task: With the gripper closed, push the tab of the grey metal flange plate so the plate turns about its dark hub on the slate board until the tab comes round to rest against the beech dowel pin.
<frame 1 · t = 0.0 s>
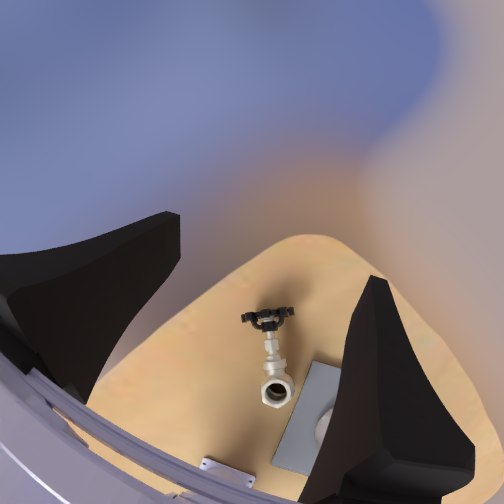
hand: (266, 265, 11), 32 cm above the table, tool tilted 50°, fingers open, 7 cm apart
board: (346, 429, 37), on the table
valve: (275, 356, 42), on the table
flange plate: (365, 440, 34), point 3 cm above the table, hinge at 0.0°
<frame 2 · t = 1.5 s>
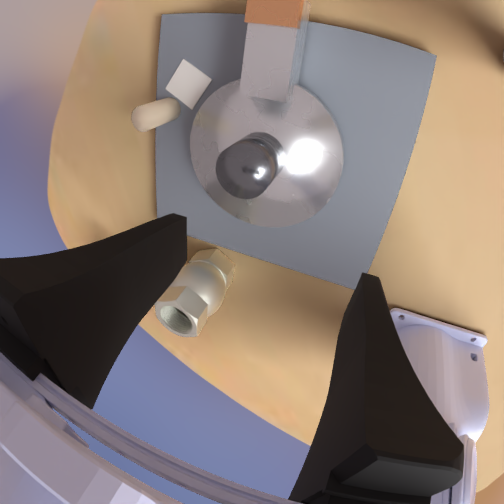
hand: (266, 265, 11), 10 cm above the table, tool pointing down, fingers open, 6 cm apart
board: (272, 145, 19), on the table
valve: (181, 267, 29), on the table
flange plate: (260, 120, 15), point 3 cm above the table, hinge at 0.0°
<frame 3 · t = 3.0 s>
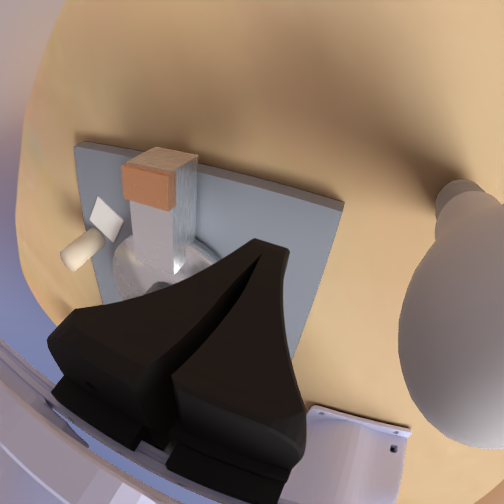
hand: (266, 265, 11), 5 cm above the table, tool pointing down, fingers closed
board: (187, 277, 21), on the table
lightbulb: (456, 197, 12), on the table
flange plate: (158, 281, 17), point 3 cm above the table, hinge at 0.0°
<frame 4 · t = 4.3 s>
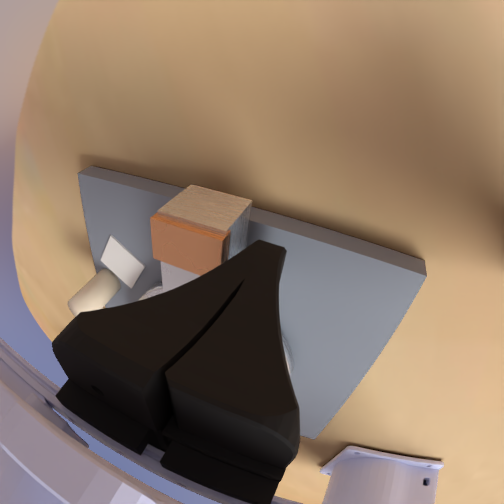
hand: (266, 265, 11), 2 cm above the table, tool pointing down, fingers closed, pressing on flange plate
board: (221, 328, 18), on the table
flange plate: (195, 346, 14), point 3 cm above the table, hinge at 0.0°, touching gripper
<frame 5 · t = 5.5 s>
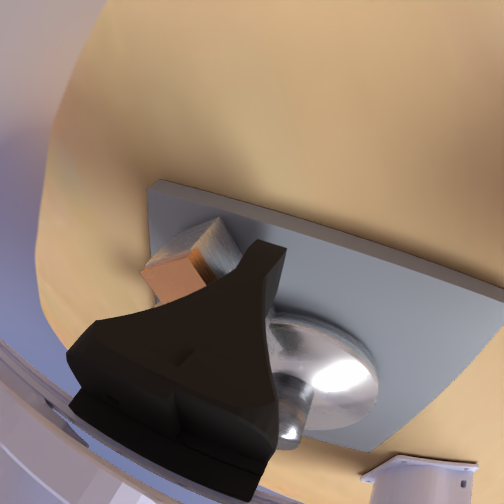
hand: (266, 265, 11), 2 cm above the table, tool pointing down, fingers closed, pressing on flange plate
board: (298, 355, 17), on the table
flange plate: (259, 377, 13), point 3 cm above the table, hinge at 37.4°, touching gripper
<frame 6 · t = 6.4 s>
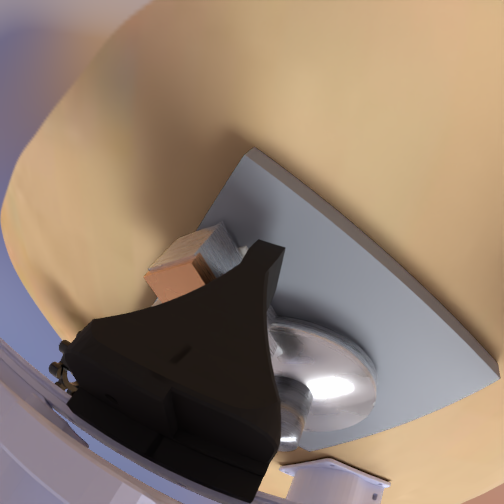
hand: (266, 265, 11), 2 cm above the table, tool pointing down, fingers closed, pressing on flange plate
board: (297, 358, 17), on the table
valve: (149, 364, 25), on the table
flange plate: (260, 380, 14), point 3 cm above the table, hinge at 61.1°, touching board, gripper
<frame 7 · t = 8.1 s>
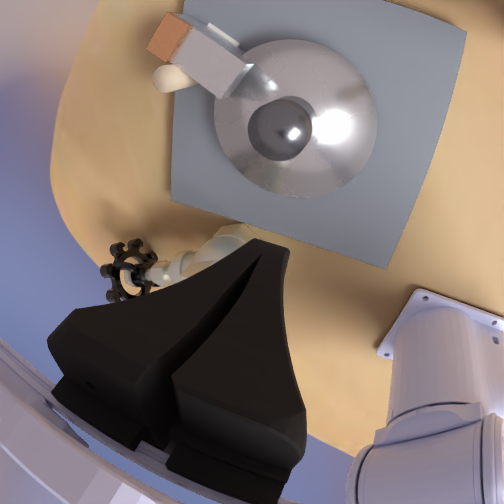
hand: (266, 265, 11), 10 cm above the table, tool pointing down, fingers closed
board: (300, 114, 18), on the table
valve: (200, 247, 27), on the table
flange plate: (253, 96, 15), point 3 cm above the table, hinge at 61.1°, touching board
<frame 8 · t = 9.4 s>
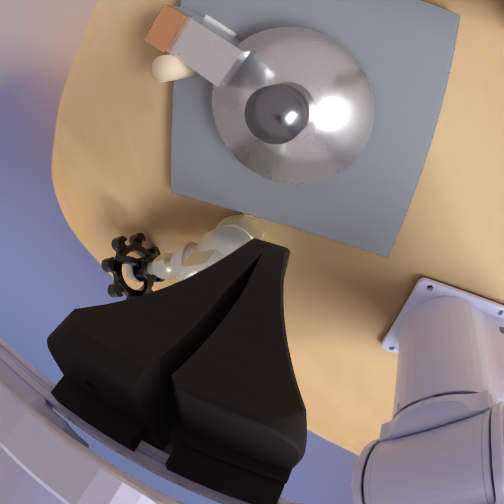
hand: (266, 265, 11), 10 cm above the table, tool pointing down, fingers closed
board: (298, 102, 17), on the table
valve: (203, 240, 26), on the table
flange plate: (250, 82, 15), point 3 cm above the table, hinge at 61.1°, touching board
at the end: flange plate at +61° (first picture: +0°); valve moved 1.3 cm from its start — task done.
